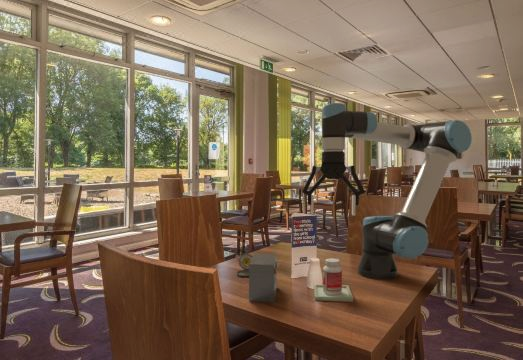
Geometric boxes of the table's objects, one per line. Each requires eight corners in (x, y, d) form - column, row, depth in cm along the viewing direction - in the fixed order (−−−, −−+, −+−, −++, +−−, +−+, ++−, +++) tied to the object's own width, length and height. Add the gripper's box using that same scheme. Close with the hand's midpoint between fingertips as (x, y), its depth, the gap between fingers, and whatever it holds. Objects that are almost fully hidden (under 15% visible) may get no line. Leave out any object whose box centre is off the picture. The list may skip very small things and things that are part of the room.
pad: (348, 288, 130) (348, 285, 130) (353, 301, 118) (353, 297, 118) (313, 287, 131) (313, 284, 131) (315, 300, 119) (315, 296, 119)
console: (278, 287, 131) (278, 253, 131) (276, 302, 117) (276, 264, 117) (253, 286, 132) (253, 253, 131) (247, 301, 118) (247, 264, 117)
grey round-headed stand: (240, 278, 142) (240, 252, 141) (232, 272, 149) (232, 247, 149) (259, 275, 145) (259, 250, 144) (251, 269, 153) (251, 245, 152)
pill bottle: (345, 293, 123) (345, 260, 123) (332, 297, 120) (332, 263, 119) (332, 288, 129) (332, 256, 128) (319, 291, 125) (319, 259, 125)
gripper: (369, 151, 125) (368, 213, 126) (295, 151, 127) (295, 213, 128) (374, 150, 118) (373, 216, 119) (295, 150, 120) (295, 216, 121)
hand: (332, 215), depth 123 cm, fingers open, 13 cm apart
